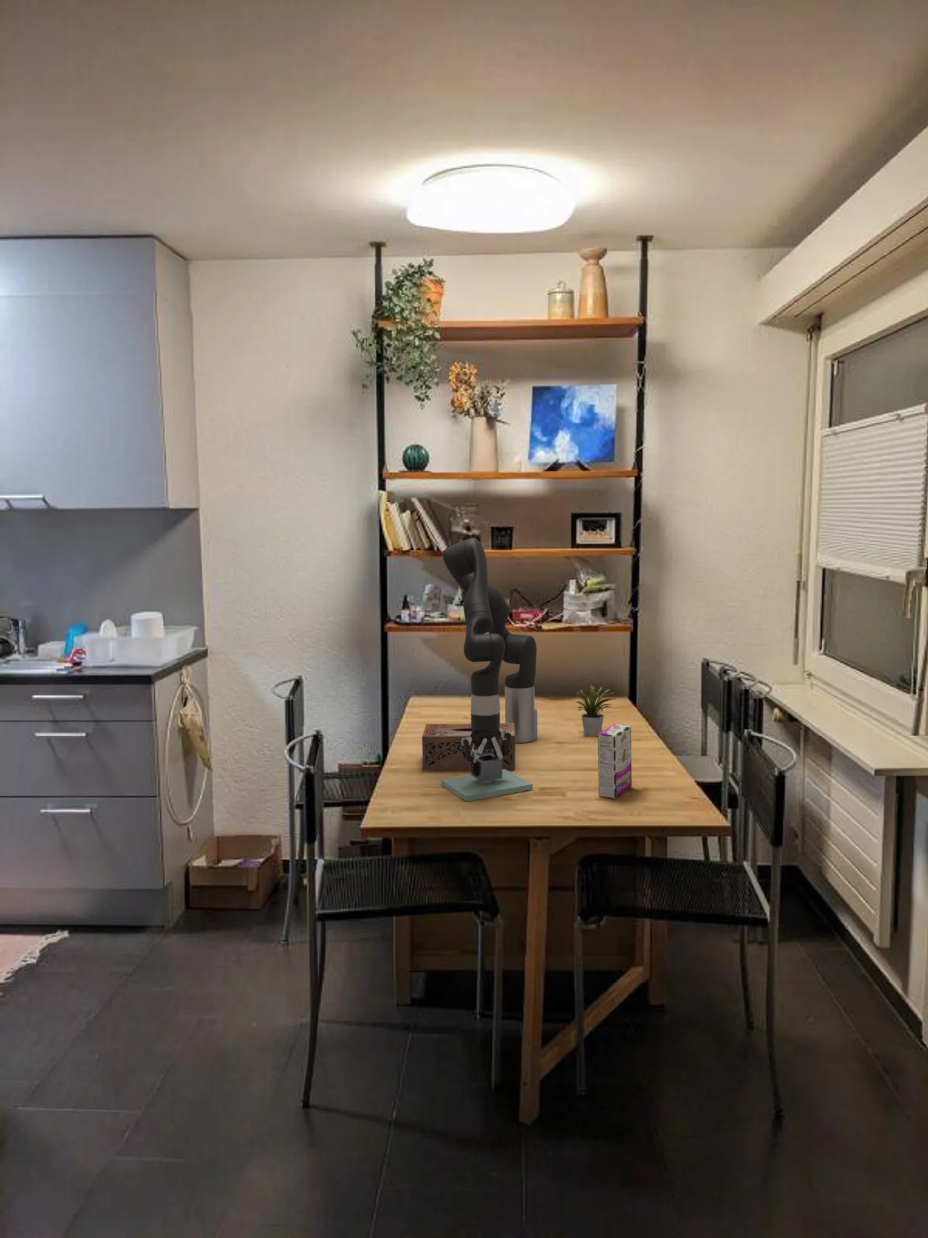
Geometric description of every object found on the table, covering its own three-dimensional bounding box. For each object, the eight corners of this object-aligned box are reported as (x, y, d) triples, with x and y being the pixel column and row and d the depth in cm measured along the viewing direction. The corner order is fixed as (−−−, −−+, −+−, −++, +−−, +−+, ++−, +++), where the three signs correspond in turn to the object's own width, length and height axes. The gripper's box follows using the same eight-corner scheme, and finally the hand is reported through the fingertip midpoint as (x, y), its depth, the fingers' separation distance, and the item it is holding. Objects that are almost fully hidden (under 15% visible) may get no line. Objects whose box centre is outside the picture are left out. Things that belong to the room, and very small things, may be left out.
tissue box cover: (422, 771, 244) (422, 736, 243) (427, 756, 259) (426, 723, 257) (515, 771, 243) (514, 736, 242) (514, 756, 258) (514, 723, 256)
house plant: (593, 744, 268) (593, 691, 266) (560, 735, 278) (559, 685, 276) (622, 735, 277) (623, 684, 275) (589, 727, 288) (589, 679, 286)
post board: (504, 774, 239) (504, 751, 238) (532, 789, 226) (532, 765, 225) (441, 785, 231) (441, 761, 230) (466, 801, 218) (465, 776, 217)
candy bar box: (614, 784, 229) (614, 723, 227) (632, 787, 226) (632, 725, 224) (596, 796, 220) (596, 732, 218) (615, 799, 217) (615, 735, 215)
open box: (491, 772, 232) (491, 753, 231) (502, 778, 227) (501, 759, 226) (471, 775, 229) (470, 756, 229) (481, 781, 224) (481, 762, 223)
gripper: (502, 704, 232) (503, 766, 234) (453, 711, 226) (455, 774, 228) (516, 710, 226) (517, 773, 228) (466, 717, 219) (467, 782, 221)
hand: (486, 773), depth 228 cm, fingers closed on open box, 5 cm apart
